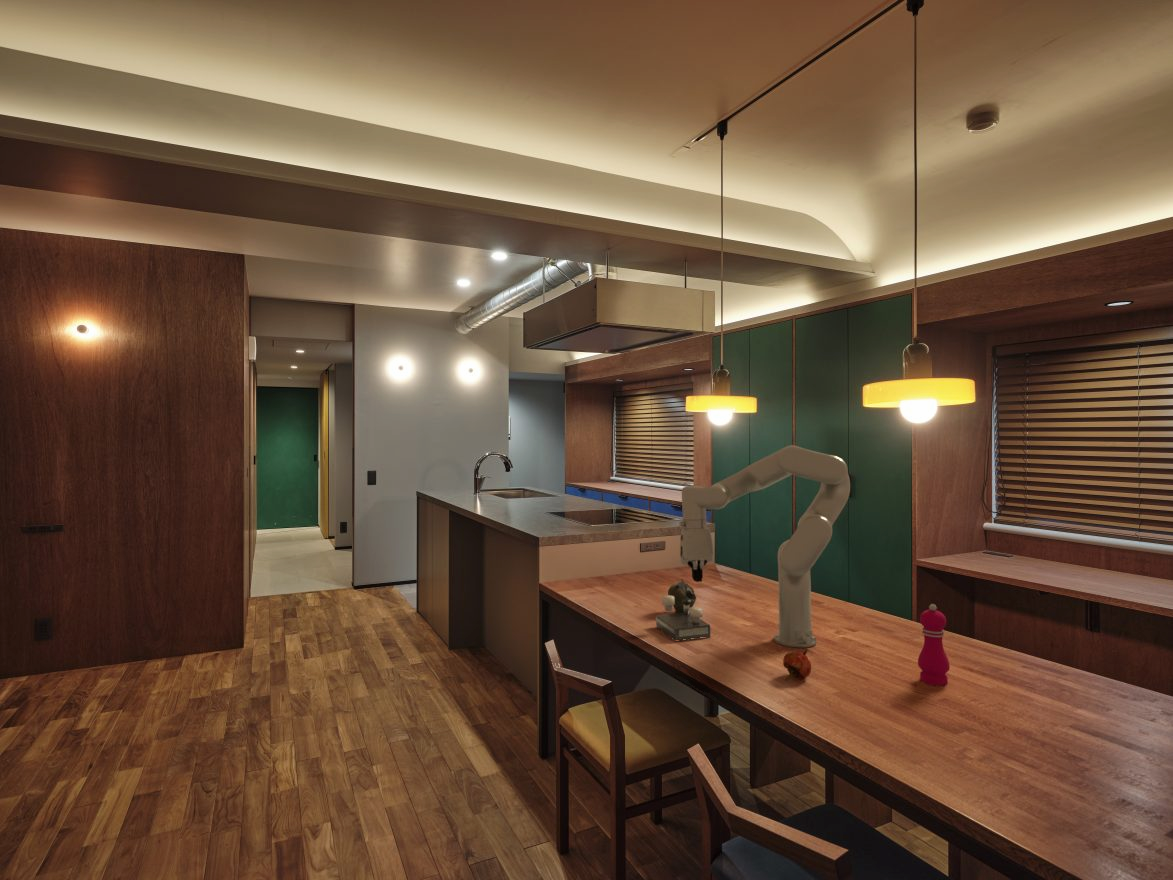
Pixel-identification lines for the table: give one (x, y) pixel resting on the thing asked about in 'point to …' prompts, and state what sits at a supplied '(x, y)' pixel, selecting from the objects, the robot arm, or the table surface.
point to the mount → (682, 626)
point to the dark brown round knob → (686, 605)
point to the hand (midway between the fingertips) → (697, 580)
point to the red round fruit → (797, 664)
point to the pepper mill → (933, 648)
